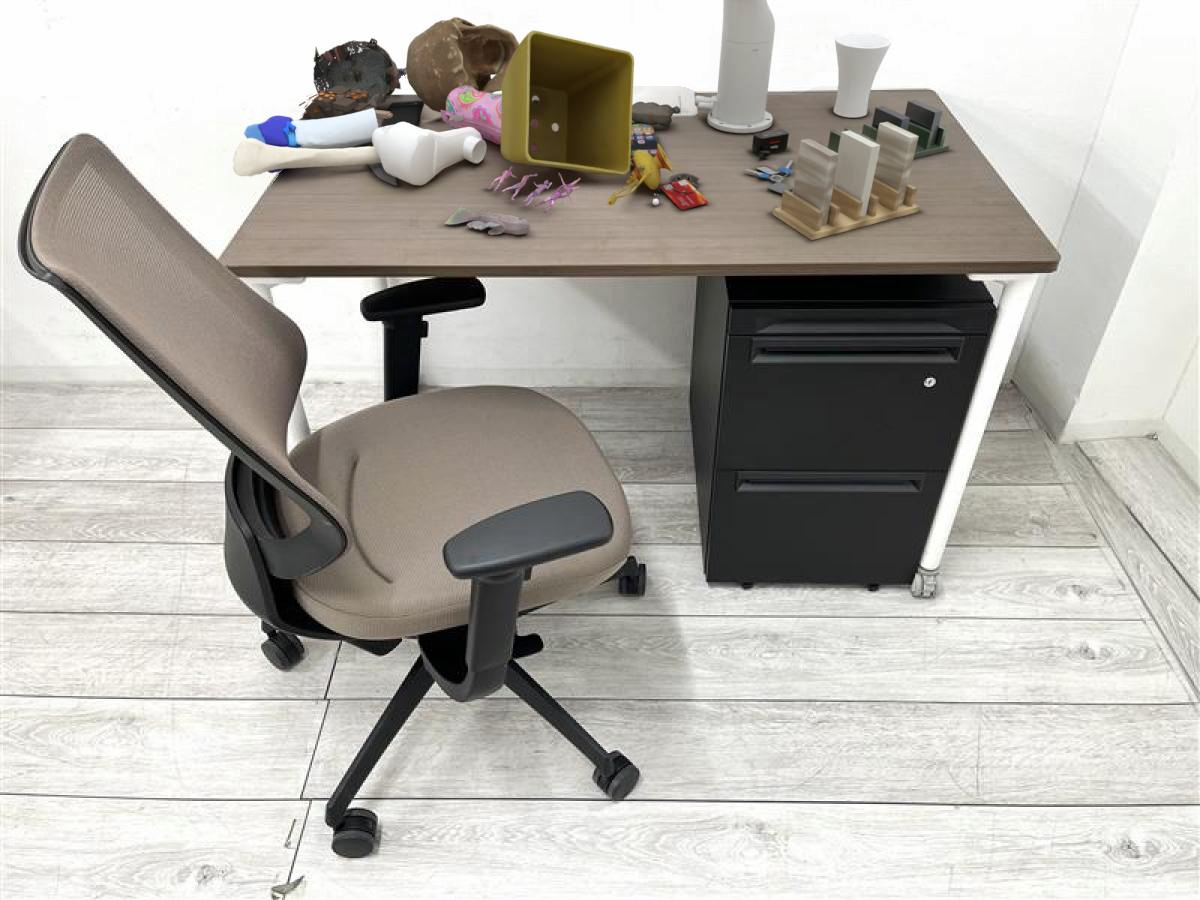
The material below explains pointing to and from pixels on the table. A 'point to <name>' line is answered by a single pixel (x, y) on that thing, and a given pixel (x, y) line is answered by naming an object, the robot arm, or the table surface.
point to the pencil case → (477, 113)
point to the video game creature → (339, 104)
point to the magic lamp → (644, 171)
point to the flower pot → (568, 105)
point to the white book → (856, 166)
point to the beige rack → (834, 210)
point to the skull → (458, 59)
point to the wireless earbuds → (770, 142)
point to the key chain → (778, 182)
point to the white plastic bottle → (425, 150)
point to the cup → (857, 70)
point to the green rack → (905, 127)
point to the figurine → (358, 70)
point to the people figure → (537, 191)
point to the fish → (490, 221)
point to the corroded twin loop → (689, 177)
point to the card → (683, 194)
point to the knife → (380, 169)
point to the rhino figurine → (653, 113)
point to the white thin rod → (656, 201)
